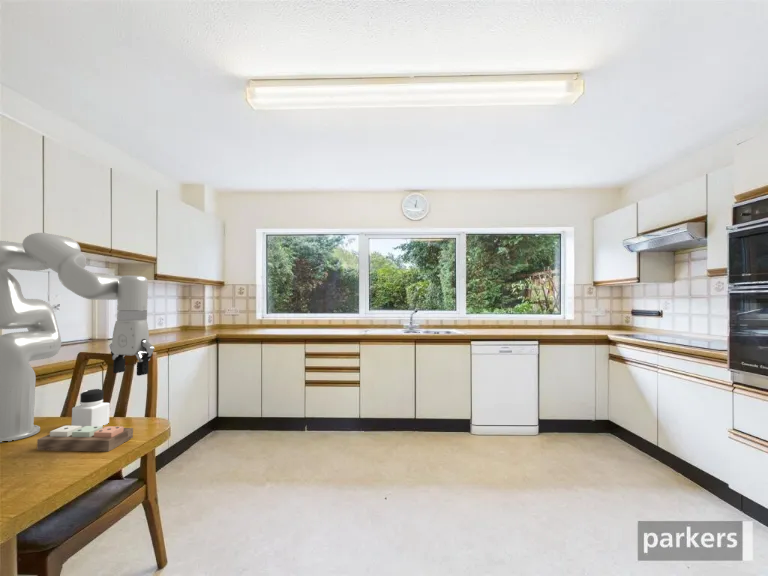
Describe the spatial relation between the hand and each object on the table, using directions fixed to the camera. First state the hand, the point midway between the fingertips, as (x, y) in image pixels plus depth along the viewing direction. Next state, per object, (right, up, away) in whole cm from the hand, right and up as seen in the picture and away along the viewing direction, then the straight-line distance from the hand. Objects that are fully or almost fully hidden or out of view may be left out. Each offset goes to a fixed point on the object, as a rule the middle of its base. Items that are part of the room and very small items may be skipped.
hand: (130, 373), depth 110 cm
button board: (-11, -20, -2) cm, 23 cm away
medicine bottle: (-21, -21, +12) cm, 32 cm away
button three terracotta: (-5, -18, -2) cm, 19 cm away
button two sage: (-11, -18, -2) cm, 22 cm away
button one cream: (-17, -18, -2) cm, 25 cm away
